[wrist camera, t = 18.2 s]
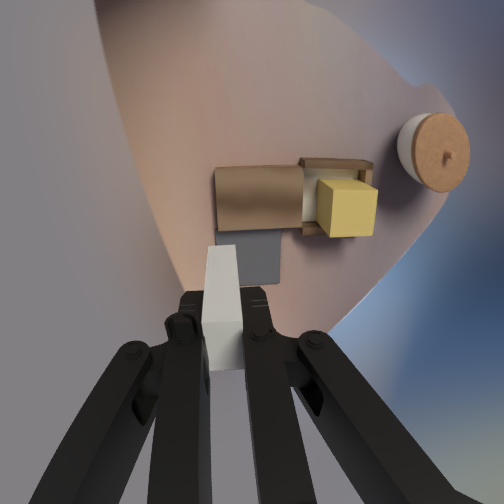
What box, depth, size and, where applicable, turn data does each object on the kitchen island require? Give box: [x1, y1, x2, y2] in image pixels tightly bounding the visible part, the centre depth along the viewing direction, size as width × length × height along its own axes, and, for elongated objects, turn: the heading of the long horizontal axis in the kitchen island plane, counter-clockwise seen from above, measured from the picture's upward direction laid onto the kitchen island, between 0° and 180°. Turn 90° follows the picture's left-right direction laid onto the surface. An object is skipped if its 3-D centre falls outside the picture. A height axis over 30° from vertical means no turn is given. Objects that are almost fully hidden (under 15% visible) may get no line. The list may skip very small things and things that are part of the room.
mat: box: [215, 228, 281, 286], centre depth 41 cm, size 9×9×1 cm
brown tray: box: [215, 158, 373, 236], centre depth 37 cm, size 10×20×2 cm, turn 91°
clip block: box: [316, 179, 378, 237], centre depth 36 cm, size 6×6×6 cm
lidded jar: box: [397, 113, 470, 193], centre depth 32 cm, size 11×11×9 cm
